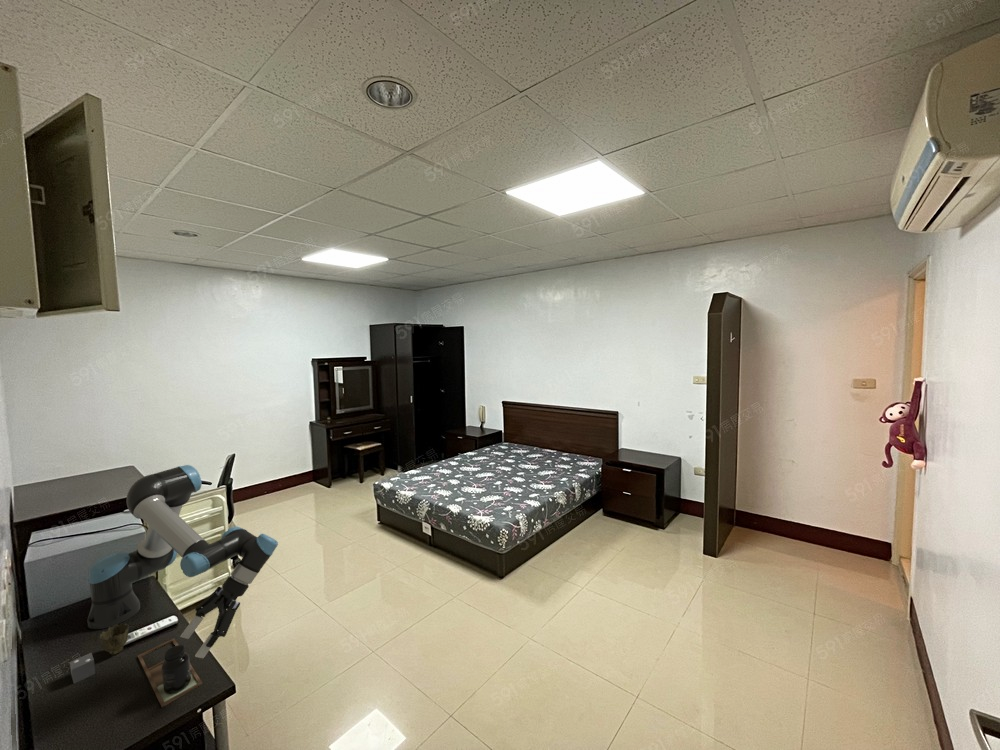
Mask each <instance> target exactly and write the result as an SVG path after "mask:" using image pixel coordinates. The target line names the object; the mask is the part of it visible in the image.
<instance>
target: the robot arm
mask: <svg viewBox="0 0 1000 750" xmlns="http://www.w3.org/2000/svg"><path fill="white" fill-rule="evenodd" d="M202 486H203V485H202V478H201V475H200V473H199V472H198V470H197V469H196V468H195V467H194V466H193V465H190V464H184V465H179V466H176V467H174V468H170V469H166V470H163V471H159V472H155V473H152V474H148V475H145V476H142V477H140V478H139V479H137V480H136V481H135V482H134V483H133V484H132V485H131V486H130V487H129V489H128V492H127V494H126V506H127V509H128V511H129V512H130V514H131V515H132V516H133V517H134V518H135V519H138V520H143V521H144V522H145V523H146V524H147V525H148V528H147V531H146V533H145V534H146V535H145V538H143V539H141V541H140V542H139V543H138V545H137V547H136V549H135V550H134V551H132V552H129V553H128V552H125V551H122V552H121V551H120V552H116V553H115V554H114V553H112V554H110V555H108V556H105V557H103V558H101V559H99V560H97V561H96V562H95V563H94V564H93V565H92V566H91V567H90V569H89V571H88V583H89V590H90V598H91V606H90V610H89V613H88V617H87V619H86V621H87V622H86V623H87V627H88V628H89V629H90V630H103V629H108V628H109V627H111V628H112V627H113V626H114V625H120V624H122V623H124V622H126V621H127V620H129V619H131V618H132V617H134V616H135V615H136V614H138V612H139V611H140V609H141V602H140V599H139V598H138V597H137V595H136V593H135V592H134V590H133V583H135V582H138V581H140V580H141V579H144V578H146V577H148V576H150V575H152V574H154V573H157V572H159V571H162V570H164V569H166V568H167V567H169V566H171V565H172V564H173V563H174V561H176V558H177V555H179V556H180V557H181V559H180V565H179V566H180V569H181V570H182V573H183V574H184V575H185V576H186V577H188V578H194V577H196V576H199V575H201V574H203V573H205V572H208V570H210V569H212V568H214V567H216V566H217V565H220V564H222V563H224V562H226V561H228V560H229V559H231V558H233V557H235V556H238V557H241V559H240V560H239V562H238V564H237V565H236V566H235V568H233V570H232V571H231V573H230V575H231V576H228V577H227V578H226V580H225V581H224V582H223V584H221V586H218V587H217V588H216V589H215V590H214V591H213V592H212V593H210V595H209V596H207V597H206V598H205V599H204V600H203V601H202V602H201V603H199V604H198V605H197V606H196V607H195V610H194V611H196V612H195V616H193V618H192V619H191V620H190V622H189V624H188V625H187V626H186V627H185V629H184V630H183V631H182V633H181V635H179V637H180V638H183V639H187V640H189V639H190V637H191V636H192V635H193V634H194V632H195V631H196V630H197V628H198V627H199V625H200V624H201V623H202V621H203V620H204V618H206V615H207V614H209V613H210V612H212V611H214V610H215V609H216V608H217V609H218V614H217V615H218V616H217V618H216V622H215V626H214V629H213V631H212V632H210V633H209V635H208V636H207V637H206V639H205V641H204V642H203V643H202V645H201V646H200V648H199V649H198V650H197V651H196V653H195V655H194V656H195V658H199V659H204V658H205V657H206V656H207V654H208V653H209V651H210V650H211V648H212V647H213V646H214V645H215V644H216V642H217V641H218V639H219V638H220V637H223V638H225V637H226V635H227V633H228V631H229V629H230V626H231V625H232V622H233V619H234V617H235V615H236V612H237V611H238V609H239V607H240V606H241V602H240V601H237V599H238V598H239V597H243V596H244V594H245V593H246V591H247V590H248V588H250V587H249V585H250V584H252V583H253V581H254V580H255V578H256V577H257V575H258V574H259V573H260V571H261V569H263V567H264V566H265V564H266V563H267V562H268V560H269V559H270V558H271V556H272V555H273V553H274V552H275V550H276V549H277V547H278V545H279V542H278V541H277V539H275V538H272V537H271V536H269V535H267V534H264V533H260V534H259V535H258V536H256V535H254V534H253V533H251V532H249V531H248V530H247V529H245V528H243V527H239V526H231V527H229V528H228V529H227V530H226V531H225V532H224V533H223V534H222V535H221V538H220V539H218V540H216V541H213V542H211V543H209V542H207V541H206V539H204V538H203V537H202V536H201V535H200V534H199V533H198V532H197V531H196V530H195V529H194V528H193V527H192V526H190V524H188V523H187V522H186V521H185V520H184V519H183V518H182V517H181V516H180V514H181V510H182V508H183V506H185V505H186V504H187V503H188V502H189V501H190V499H191V495H192V494H193V493H197V492H198V491H200V490H201V488H202Z"/></svg>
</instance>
